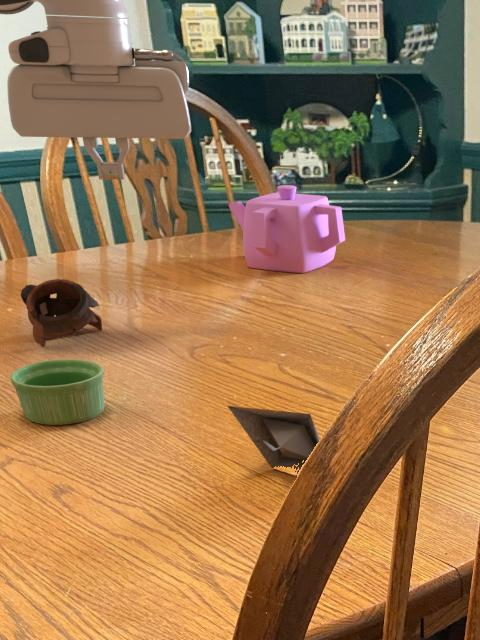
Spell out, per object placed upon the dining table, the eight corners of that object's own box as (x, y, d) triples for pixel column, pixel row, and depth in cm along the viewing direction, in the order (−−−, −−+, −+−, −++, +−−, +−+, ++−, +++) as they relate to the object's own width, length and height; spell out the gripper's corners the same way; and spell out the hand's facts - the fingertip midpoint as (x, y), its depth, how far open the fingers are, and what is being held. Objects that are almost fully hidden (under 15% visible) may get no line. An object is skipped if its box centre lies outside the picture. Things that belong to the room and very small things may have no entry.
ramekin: (102, 426, 93) (94, 385, 90) (10, 429, 92) (-1, 387, 89) (116, 396, 100) (109, 357, 98) (31, 399, 99) (21, 359, 97)
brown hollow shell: (125, 334, 121) (108, 287, 114) (81, 382, 117) (60, 337, 110) (53, 300, 123) (31, 252, 116) (6, 346, 119) (-19, 299, 112)
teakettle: (259, 277, 148) (252, 195, 141) (230, 256, 161) (222, 180, 154) (355, 269, 155) (353, 190, 148) (321, 249, 167) (317, 176, 161)
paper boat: (369, 448, 87) (350, 462, 78) (332, 501, 89) (310, 520, 80) (266, 372, 86) (235, 377, 77) (230, 427, 88) (196, 438, 79)
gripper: (186, 49, 108) (199, 175, 116) (3, 43, 104) (28, 174, 112) (185, 50, 103) (199, 183, 111) (-8, 44, 99) (20, 182, 106)
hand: (112, 179), depth 111 cm, fingers closed
